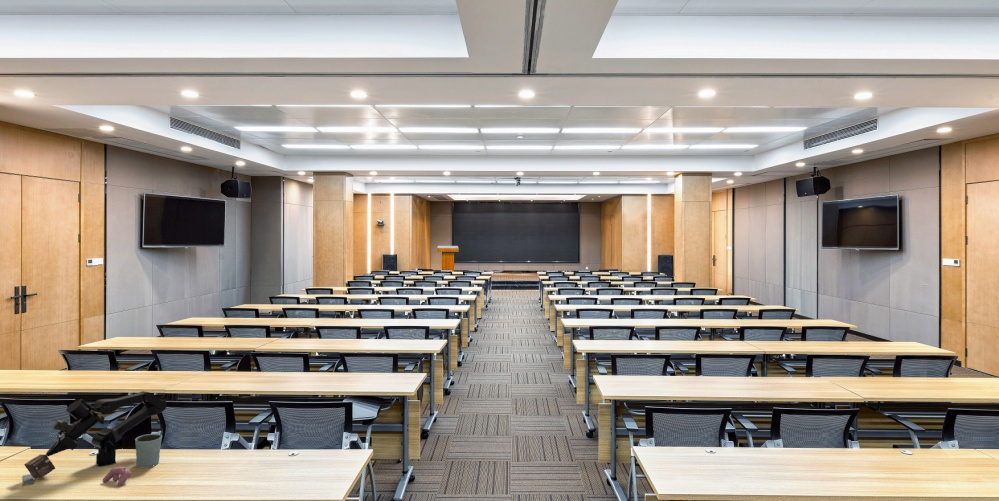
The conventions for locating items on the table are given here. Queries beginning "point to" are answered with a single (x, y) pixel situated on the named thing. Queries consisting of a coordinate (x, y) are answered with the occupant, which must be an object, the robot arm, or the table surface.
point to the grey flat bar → (28, 480)
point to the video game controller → (115, 474)
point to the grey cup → (148, 450)
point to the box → (39, 466)
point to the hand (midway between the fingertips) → (46, 455)
